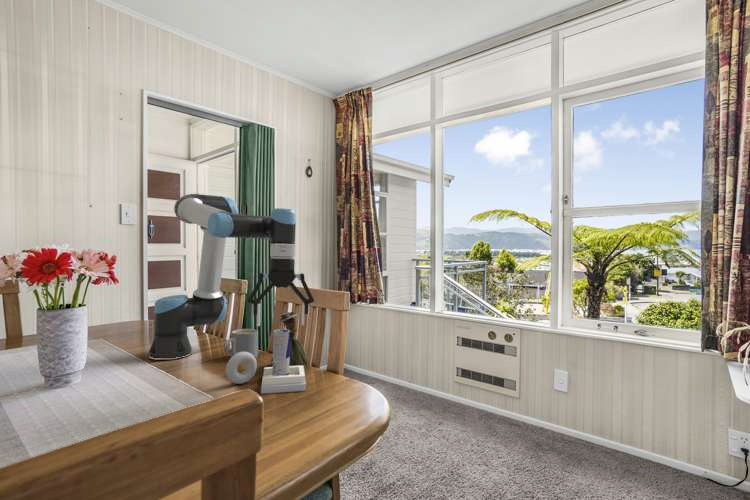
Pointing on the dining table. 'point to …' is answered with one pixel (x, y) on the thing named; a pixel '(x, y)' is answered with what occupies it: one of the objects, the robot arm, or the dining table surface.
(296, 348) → the figurine
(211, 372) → the dining table surface
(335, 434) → the dining table surface
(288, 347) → the beverage can
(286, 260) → the robot arm
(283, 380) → the tray
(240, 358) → the donut
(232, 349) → the coffee mug
